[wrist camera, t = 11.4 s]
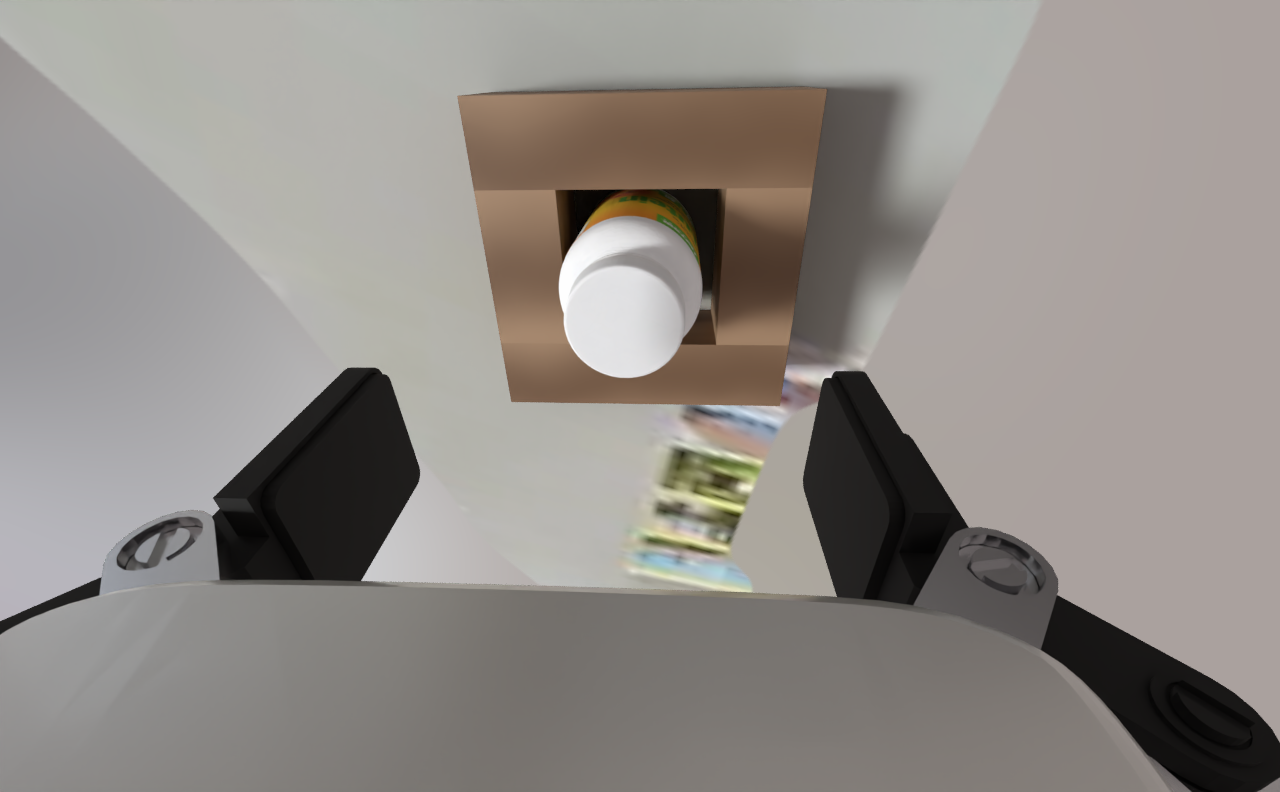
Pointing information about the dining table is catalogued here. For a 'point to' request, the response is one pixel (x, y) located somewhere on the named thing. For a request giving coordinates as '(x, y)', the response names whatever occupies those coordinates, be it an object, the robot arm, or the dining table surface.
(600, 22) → the dining table surface
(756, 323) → the socket block
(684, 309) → the supplement bottle
